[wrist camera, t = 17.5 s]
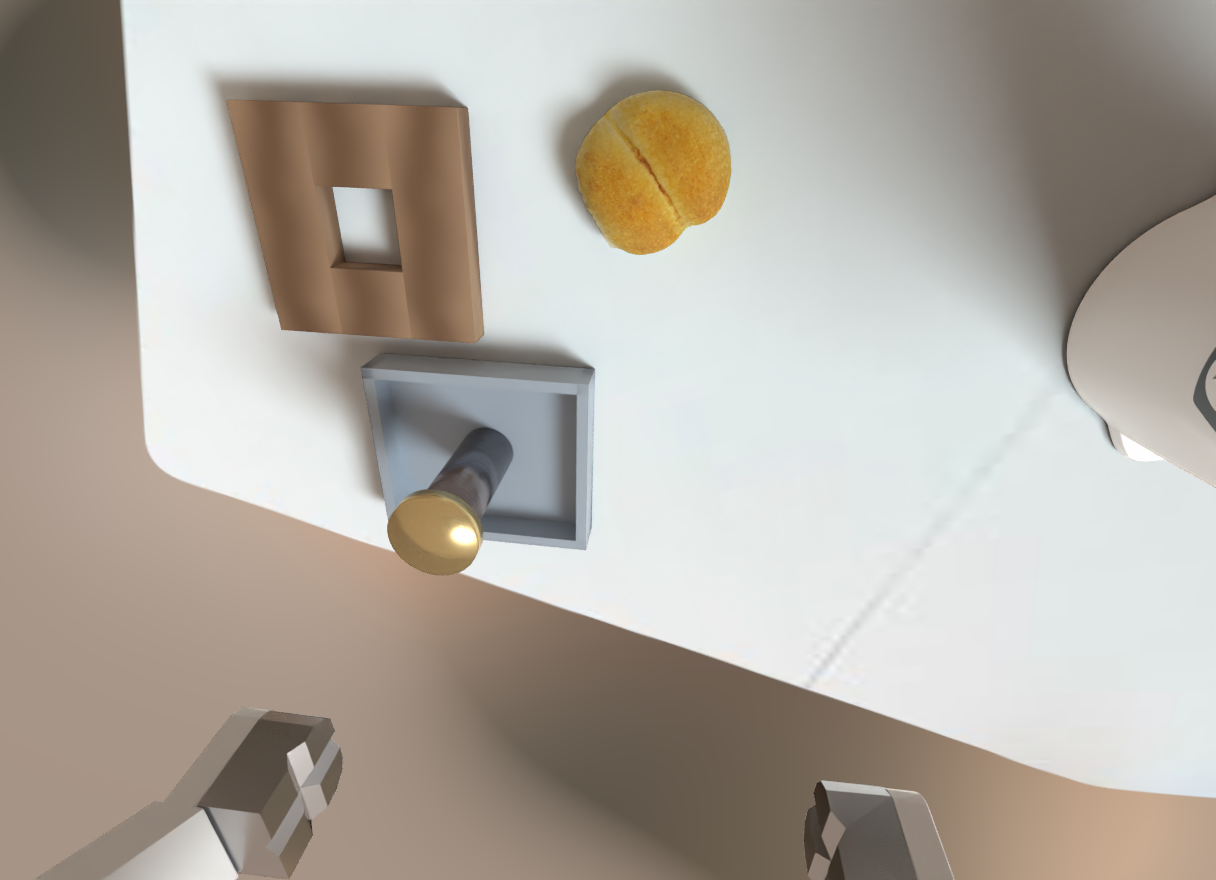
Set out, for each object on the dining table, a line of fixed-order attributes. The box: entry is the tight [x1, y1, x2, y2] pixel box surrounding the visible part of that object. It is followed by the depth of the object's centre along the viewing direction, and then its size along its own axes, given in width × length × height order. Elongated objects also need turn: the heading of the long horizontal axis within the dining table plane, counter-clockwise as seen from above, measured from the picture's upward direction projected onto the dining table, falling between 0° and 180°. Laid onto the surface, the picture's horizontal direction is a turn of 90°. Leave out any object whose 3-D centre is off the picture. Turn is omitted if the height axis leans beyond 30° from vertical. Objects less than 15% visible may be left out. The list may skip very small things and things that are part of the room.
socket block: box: [227, 100, 484, 343], centre depth 38 cm, size 14×14×2 cm
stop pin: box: [387, 428, 513, 575], centre depth 40 cm, size 6×6×11 cm
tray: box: [361, 353, 595, 550], centre depth 45 cm, size 16×14×3 cm
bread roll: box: [575, 90, 731, 255], centre depth 34 cm, size 8×9×4 cm
